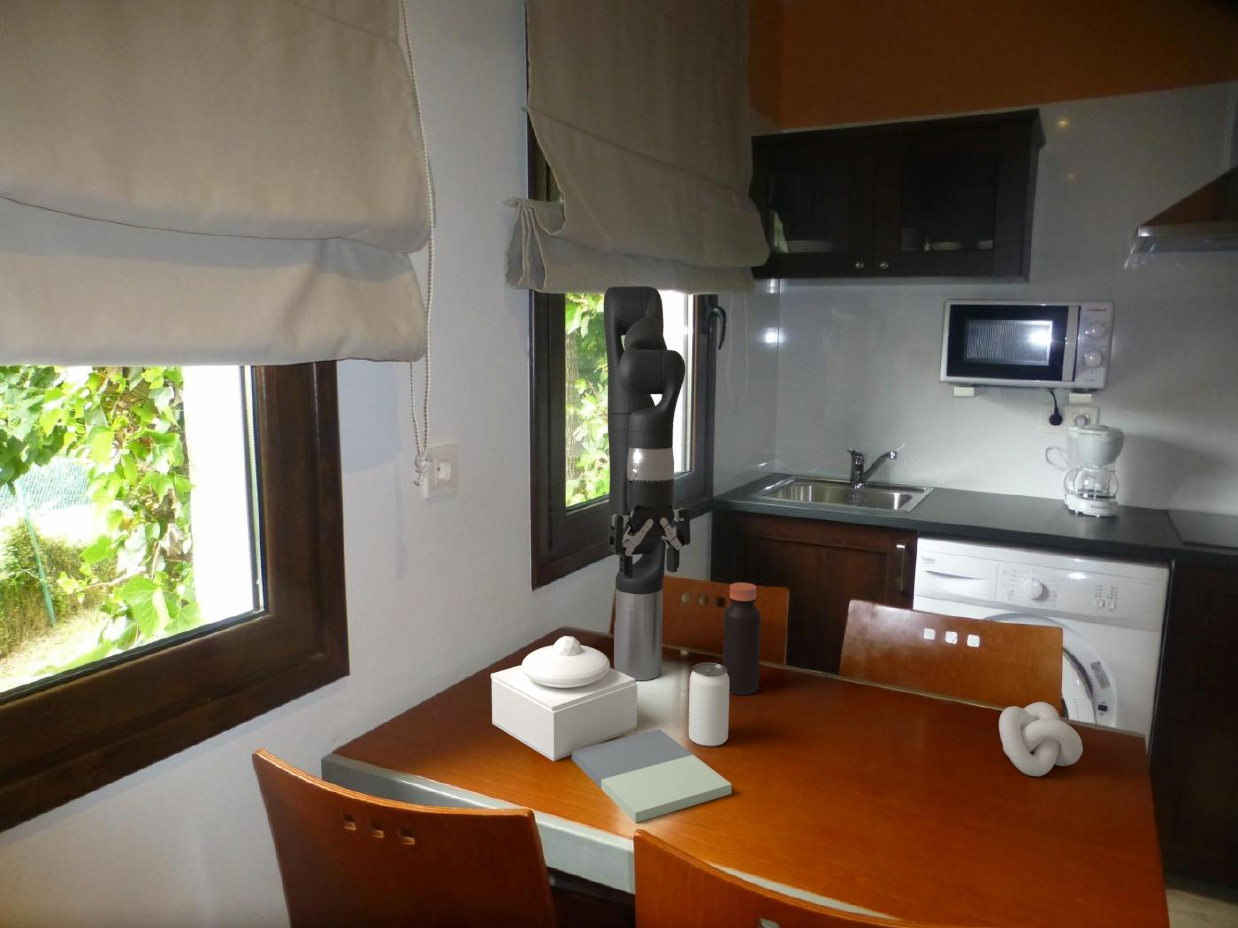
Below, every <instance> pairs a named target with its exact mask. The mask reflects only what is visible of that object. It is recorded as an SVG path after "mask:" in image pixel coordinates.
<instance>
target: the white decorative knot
mask: <svg viewBox="0 0 1238 928" xmlns="http://www.w3.org/2000/svg"><path fill="white" fill-rule="evenodd" d="M998 730H999V735H1000V741H1001V743H1002V750H1003V752H1004V753H1005V755H1006V756H1007V757H1008V758H1009V760H1010V761H1011V763H1012V764H1013V765H1014V766H1015V767H1016V768H1017V769H1018V770H1019V771H1021V772H1022V773H1023V774H1025V775H1027V776H1031V777H1042V776H1044V775H1046V774H1048V773H1049V772H1050V771H1051V770H1052V769H1053V768H1054V766H1058V767H1067V766H1070V765H1073V764H1076V763H1077V762H1078V761H1079V759H1080V757H1081V756H1082V754H1083V750H1084V748H1083V743H1082V738H1081V737H1080V735H1079V733H1078V732H1077V731H1076V730H1075V729H1074V728H1073V727H1072V726H1071V725H1069V724H1068V723H1066V722H1064V721H1062V720H1061V718H1060V715H1059V712H1058V710H1057V709H1056V708H1055V707H1054V706H1053V705H1051V704H1049V703H1047V702H1045V701H1038V702H1037V701H1036V702H1033V703H1031V704H1028V705H1027V706H1026V707H1024V708H1022V707H1019V706H1016V705H1013V706H1008V707H1006V708H1005V709H1004V710H1003V711H1002V712H1001V714H1000V716H999V719H998ZM1031 752H1033V754H1032V753H1031Z"/></svg>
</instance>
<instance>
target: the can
mask: <svg viewBox="0 0 1238 928" xmlns="http://www.w3.org/2000/svg"><path fill="white" fill-rule="evenodd" d="M689 676H690V677H689V690H688V691H689V692H688V693H689V696H688V697H689V700H688V701H689V702H688V737H689V739H690V740H691V742H693V743H694V744H696V745H699V746H701V747H709V748H711V747H718V746H721V745H724V744H725V742H727V740H728V738H729V717H730V716H729V715H730V712H729V710H730V709H729V707H730V693H729V677H728V674H727V668H726V667H724V666H723V664H720V663H715V662H701V663H697V664H695V665H693V667H692V672H691V673H690V675H689Z"/></svg>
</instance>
